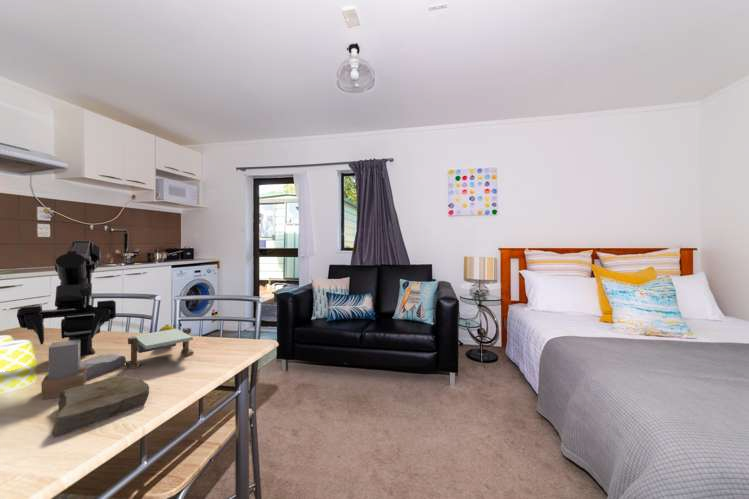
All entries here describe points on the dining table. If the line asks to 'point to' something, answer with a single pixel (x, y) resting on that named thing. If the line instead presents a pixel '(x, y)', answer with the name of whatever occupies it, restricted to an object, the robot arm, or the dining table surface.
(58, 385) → the plinth
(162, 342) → the trapdoor
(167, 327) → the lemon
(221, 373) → the dining table surface
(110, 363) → the stone block
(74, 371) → the grey block
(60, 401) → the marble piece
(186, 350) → the trapdoor frame
